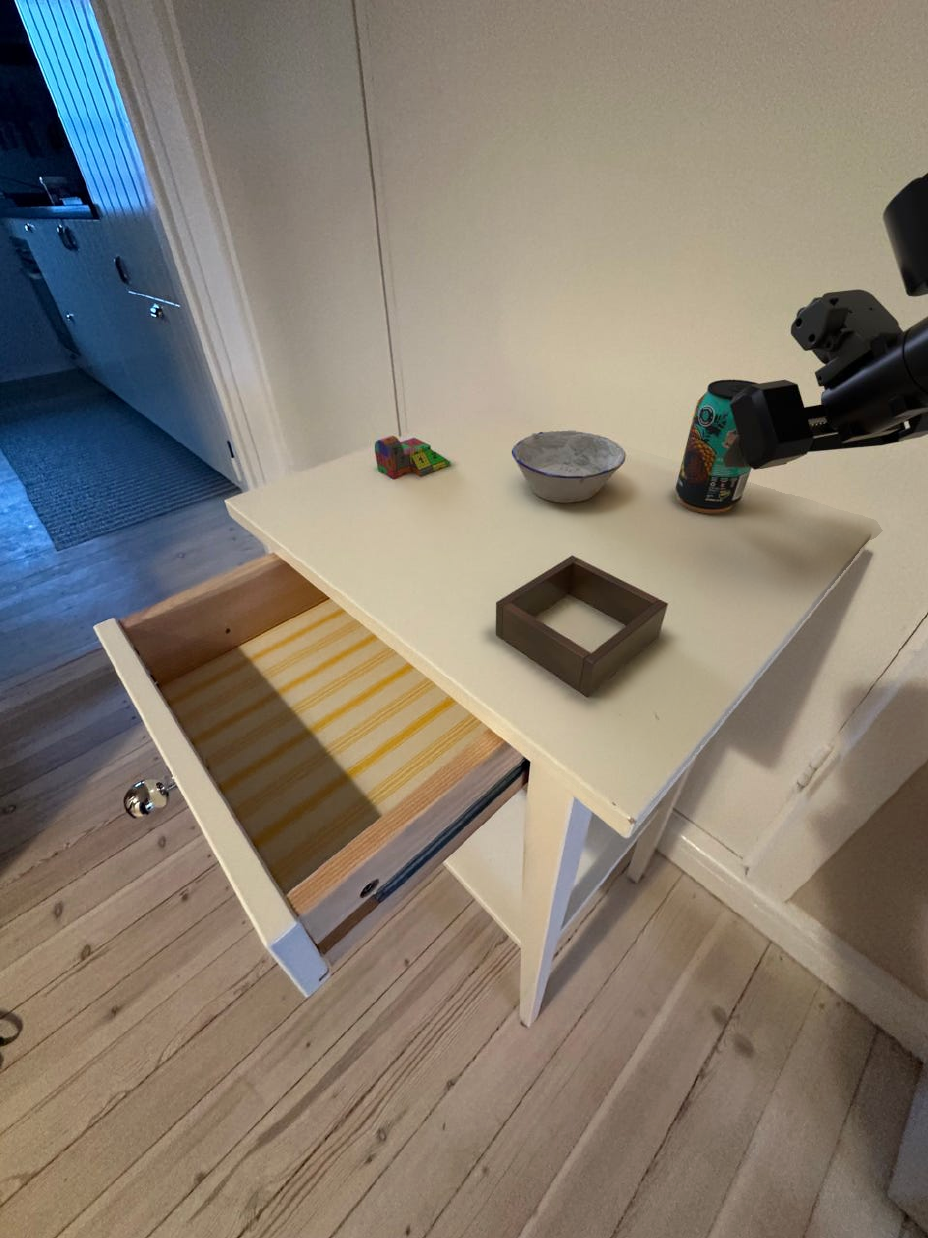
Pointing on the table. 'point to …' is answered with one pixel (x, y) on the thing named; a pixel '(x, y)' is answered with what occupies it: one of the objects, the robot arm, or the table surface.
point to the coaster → (700, 508)
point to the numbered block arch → (407, 457)
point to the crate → (558, 650)
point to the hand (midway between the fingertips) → (764, 454)
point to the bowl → (567, 464)
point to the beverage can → (712, 451)
